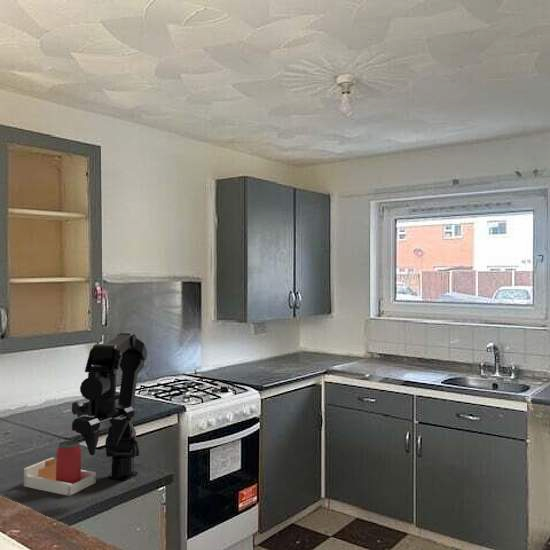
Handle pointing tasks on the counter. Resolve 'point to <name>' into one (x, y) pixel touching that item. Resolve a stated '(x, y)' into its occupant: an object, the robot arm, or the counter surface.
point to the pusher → (48, 469)
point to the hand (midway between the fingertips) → (103, 450)
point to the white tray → (54, 485)
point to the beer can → (68, 462)
